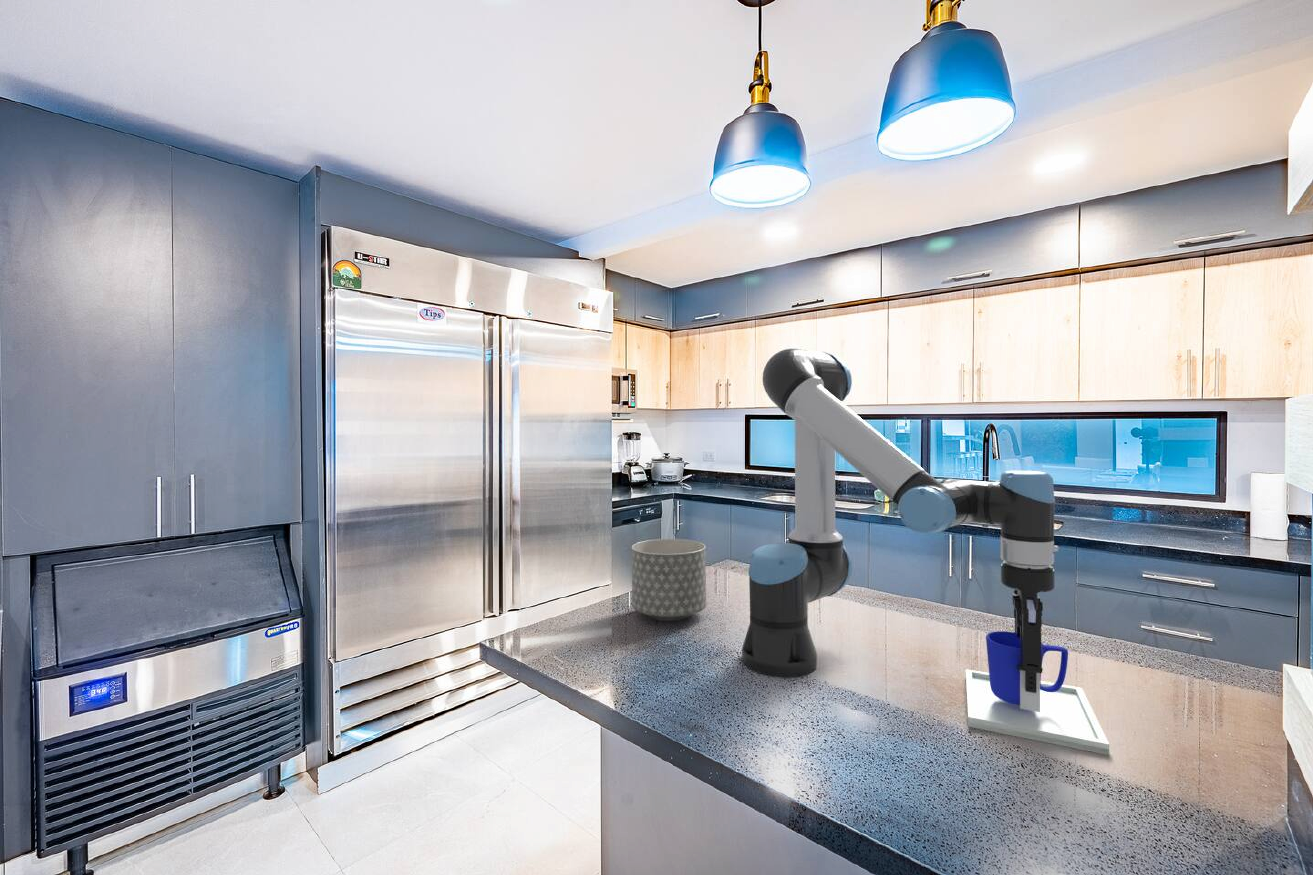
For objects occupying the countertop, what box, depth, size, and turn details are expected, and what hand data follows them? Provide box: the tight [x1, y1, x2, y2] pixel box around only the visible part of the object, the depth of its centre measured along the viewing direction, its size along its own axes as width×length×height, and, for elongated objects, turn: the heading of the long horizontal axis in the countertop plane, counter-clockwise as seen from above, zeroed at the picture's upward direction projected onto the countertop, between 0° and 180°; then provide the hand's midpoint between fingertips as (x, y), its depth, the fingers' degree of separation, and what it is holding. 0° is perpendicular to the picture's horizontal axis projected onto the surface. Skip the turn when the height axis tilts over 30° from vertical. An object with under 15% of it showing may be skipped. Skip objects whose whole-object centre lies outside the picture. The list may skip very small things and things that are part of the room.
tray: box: [965, 668, 1110, 756], centre depth 96 cm, size 18×20×2 cm
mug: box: [985, 630, 1069, 705], centre depth 96 cm, size 8×12×10 cm
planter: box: [631, 538, 707, 622], centre depth 147 cm, size 19×19×18 cm
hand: (1027, 699), depth 96 cm, fingers closed on mug, 7 cm apart
